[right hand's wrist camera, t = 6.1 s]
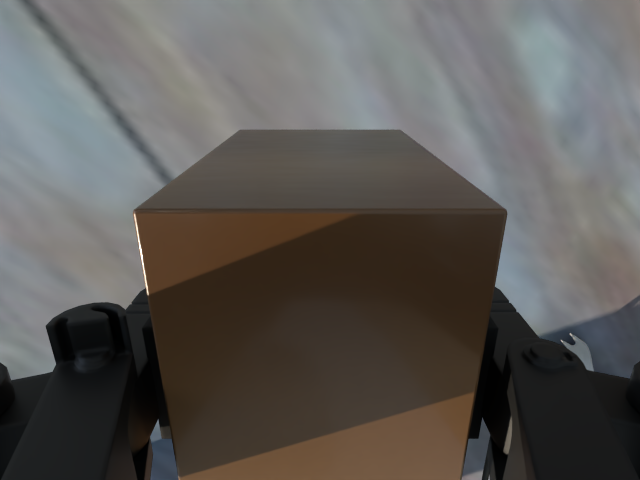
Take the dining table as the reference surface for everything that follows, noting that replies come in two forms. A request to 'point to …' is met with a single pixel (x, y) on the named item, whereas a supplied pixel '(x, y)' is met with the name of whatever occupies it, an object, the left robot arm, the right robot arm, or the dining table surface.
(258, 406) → the bar
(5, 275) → the dining table surface
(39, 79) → the dining table surface
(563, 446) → the right robot arm
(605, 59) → the dining table surface
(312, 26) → the dining table surface
